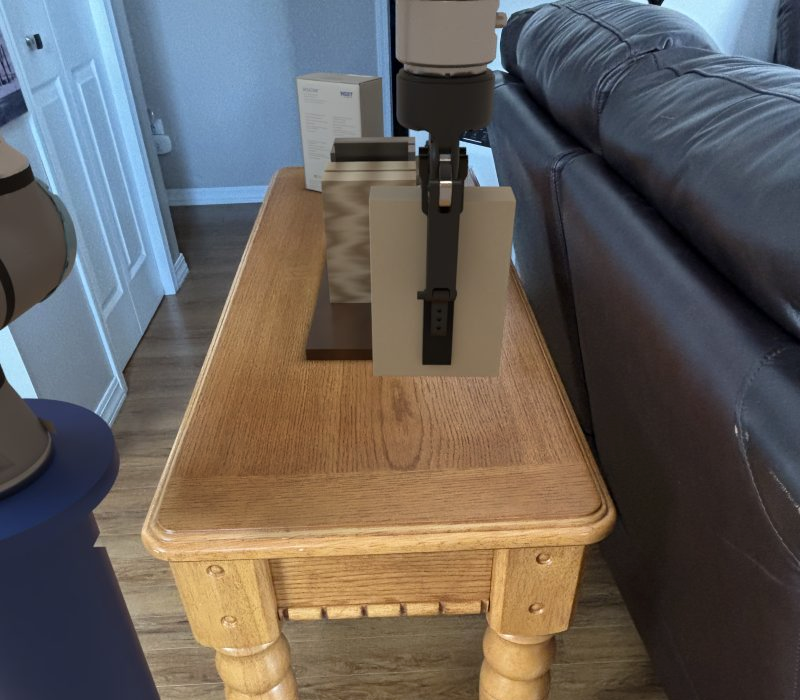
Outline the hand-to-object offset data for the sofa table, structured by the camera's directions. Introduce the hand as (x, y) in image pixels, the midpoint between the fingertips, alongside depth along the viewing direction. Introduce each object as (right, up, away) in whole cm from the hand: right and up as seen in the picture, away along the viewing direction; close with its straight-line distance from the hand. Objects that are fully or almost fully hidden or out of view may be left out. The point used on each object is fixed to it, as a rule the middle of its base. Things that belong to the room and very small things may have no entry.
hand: (435, 351), depth 71 cm
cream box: (0, -1, +1) cm, 2 cm away
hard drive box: (-15, +52, +79) cm, 96 cm away
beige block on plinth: (-7, +17, +38) cm, 42 cm away
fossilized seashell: (0, +52, +79) cm, 95 cm away
